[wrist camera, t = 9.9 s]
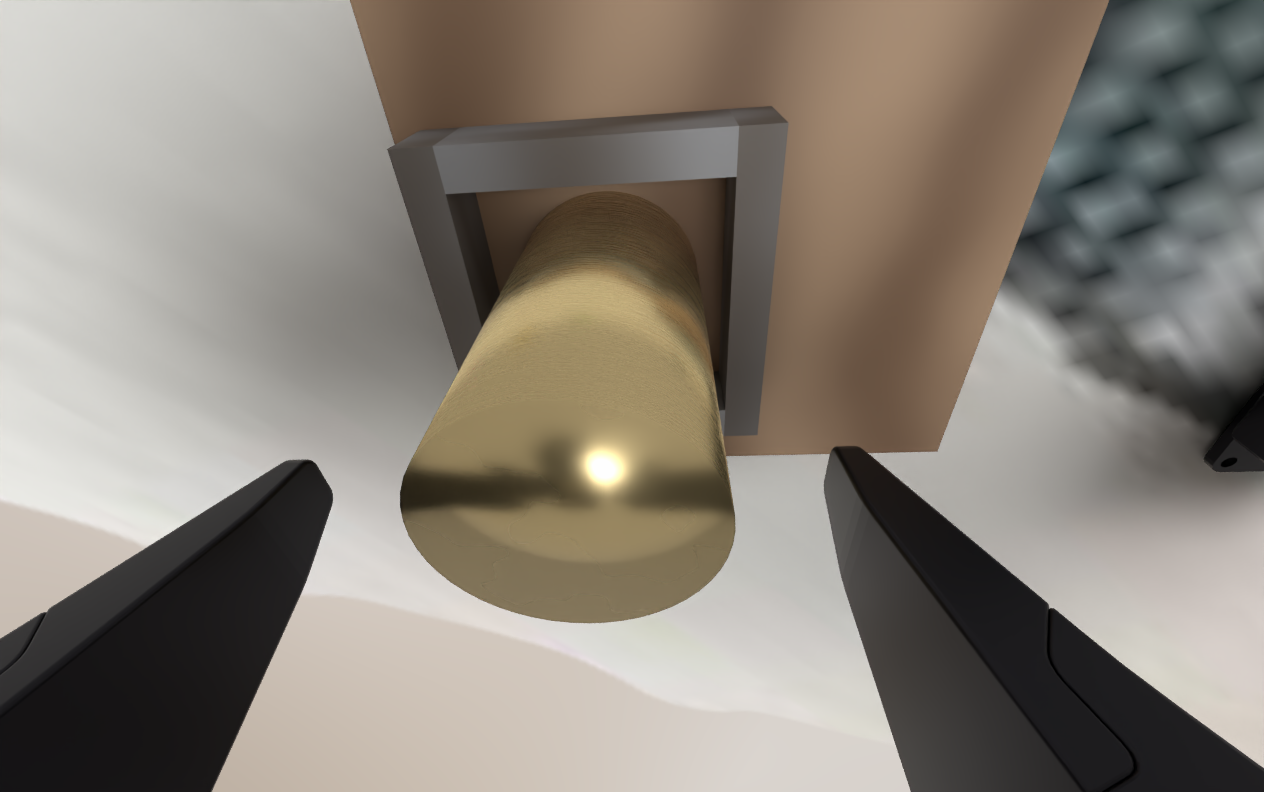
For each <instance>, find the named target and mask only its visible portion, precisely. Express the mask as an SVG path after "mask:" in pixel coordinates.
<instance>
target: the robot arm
mask: <svg viewBox="0 0 1264 792" xmlns="http://www.w3.org/2000/svg"><path fill="white" fill-rule="evenodd" d="M1204 462H1205V463H1206V464H1207V465H1209V466H1210V467H1211V468H1212V469H1213V470H1215V471H1217V472H1245V471H1264V383H1263V384H1262V386H1261V387H1260V388H1259V389H1258V390H1257V392H1256V393H1255V394H1254V395H1253V397H1252V398H1251V399H1250V400H1249V402H1248V403H1247V404H1246V405H1245V407H1244V408H1243V409H1242V410H1241V412H1240V413H1239V414H1238V415H1237V417H1236V418H1235V419H1234V420H1233V422H1232V423H1231V424H1230V425H1229V427H1228V428H1227V429H1226V430H1225V432H1224V433H1223V434H1222V435H1221V437H1220V438H1219V439H1218V440H1217V442H1216V443H1215V444H1214V445H1213V447H1212V448H1211V449H1210V450H1209V452H1208V453H1207V454H1206V455H1205V457H1204ZM824 493H825V499H826V504H827V509H828V514H829V519H830V524H831V529H832V534H833V539H834V544H835V549H836V554H837V559H838V564H839V569H840V573H841V578H842V581H843V584H844V588H845V591H846V594H847V597H848V600H849V603H850V607H851V610H852V613H853V616H854V619H855V622H856V625H857V628H858V631H859V634H860V637H861V640H862V643H863V646H864V649H865V652H866V656H867V659H868V662H869V665H870V668H871V671H872V674H873V677H874V680H875V683H876V686H877V689H878V692H879V695H880V698H881V701H882V705H883V708H884V711H885V714H886V717H887V720H888V723H889V726H890V729H891V732H892V735H893V738H894V741H895V744H896V747H897V750H898V753H899V757H900V759H901V763H902V766H903V769H904V772H905V775H906V778H907V781H908V784H909V787H910V790H911V792H1264V768H1263V767H1261V766H1260V765H1258V764H1257V763H1256V762H1254V761H1253V760H1252V759H1250V758H1249V757H1248V756H1246V755H1245V754H1243V753H1242V752H1241V751H1239V750H1238V749H1237V748H1235V747H1234V746H1232V745H1231V744H1230V743H1228V742H1227V741H1226V740H1224V739H1223V738H1221V737H1220V736H1219V735H1217V734H1216V733H1215V732H1213V731H1212V730H1211V729H1209V728H1208V727H1206V726H1205V725H1204V724H1202V723H1201V722H1200V721H1198V720H1197V719H1195V718H1194V717H1193V716H1191V715H1190V714H1189V713H1187V712H1186V711H1184V710H1183V709H1182V708H1180V707H1179V706H1178V705H1176V704H1175V703H1174V702H1172V701H1171V700H1170V699H1168V698H1167V697H1166V696H1164V695H1163V694H1162V693H1160V692H1159V691H1158V690H1156V689H1155V688H1154V687H1152V686H1151V685H1150V684H1148V683H1147V682H1146V681H1144V680H1143V679H1142V678H1140V677H1139V676H1138V675H1136V674H1135V673H1134V672H1132V671H1131V670H1130V669H1128V668H1127V667H1126V666H1124V665H1123V664H1122V663H1121V662H1119V661H1118V660H1117V659H1116V658H1114V657H1113V656H1112V655H1111V654H1109V653H1108V652H1107V651H1106V650H1104V649H1103V648H1102V647H1101V646H1099V645H1098V644H1097V643H1096V642H1094V641H1093V640H1092V639H1091V638H1089V637H1088V636H1087V635H1086V634H1084V633H1083V632H1082V631H1081V630H1080V629H1078V628H1077V627H1076V626H1075V625H1074V624H1072V623H1071V622H1070V621H1069V620H1068V619H1066V618H1065V617H1064V616H1063V615H1062V614H1060V613H1059V612H1058V611H1057V610H1055V609H1054V608H1050V609H1049V605H1048V603H1047V602H1046V601H1044V600H1043V599H1042V598H1041V597H1040V596H1038V595H1037V594H1036V593H1035V592H1034V591H1032V590H1031V589H1030V588H1029V587H1028V586H1026V585H1025V584H1024V583H1023V582H1022V581H1020V580H1019V579H1018V578H1017V577H1016V576H1014V575H1013V574H1012V573H1011V572H1010V571H1008V570H1007V569H1006V568H1005V567H1004V566H1002V565H1001V564H1000V563H999V562H998V561H996V560H995V559H994V558H993V557H992V556H990V555H989V554H988V553H987V552H986V551H984V550H983V549H982V548H981V547H980V546H978V545H977V544H976V543H975V542H974V541H972V540H971V539H970V538H969V537H968V536H966V535H965V534H964V533H963V532H962V531H960V530H959V529H958V528H957V527H956V526H954V525H953V524H952V523H951V522H950V521H948V520H947V519H946V518H945V517H944V516H942V515H941V514H940V513H939V512H938V511H936V510H935V509H934V508H933V507H932V506H930V505H929V504H928V503H927V502H926V501H924V500H923V499H922V498H921V497H920V496H918V495H917V494H916V493H915V492H914V491H912V490H911V489H910V488H909V487H908V486H906V485H905V484H904V483H903V482H902V481H900V480H899V479H898V478H897V477H896V476H894V475H893V474H892V473H891V472H890V471H889V470H887V469H886V468H885V467H884V466H883V465H881V464H880V463H879V462H878V461H877V460H875V459H874V458H873V457H872V456H871V455H869V454H868V453H867V452H866V451H865V450H863V449H862V448H860V447H858V446H836V447H834V448H833V449H832V450H831V452H830V456H829V461H828V466H827V470H826V475H825V480H824ZM332 503H333V493H332V490H331V488H330V486H329V485H328V483H327V481H326V480H325V478H324V476H323V475H322V473H321V471H320V470H319V468H318V466H317V465H316V464H315V463H314V462H313V461H311V460H288V461H285V462H283V463H281V464H280V465H278V466H276V467H275V468H273V469H272V470H270V471H268V472H267V473H265V474H264V475H262V476H260V477H259V478H257V479H256V480H254V481H252V482H251V483H249V484H248V485H246V486H244V487H243V488H241V489H240V490H238V491H236V492H235V493H233V494H232V495H230V496H228V497H227V498H225V499H224V500H222V501H220V502H219V503H217V504H216V505H214V506H212V507H211V508H209V509H208V510H206V511H204V512H203V513H201V514H200V515H198V516H196V517H195V518H193V519H192V520H190V521H188V522H187V523H185V524H184V525H182V526H180V527H179V528H177V529H176V530H174V531H172V532H171V533H169V534H168V535H166V536H164V537H163V538H161V539H160V540H158V541H156V542H155V543H153V544H152V545H150V546H148V547H147V548H145V549H144V550H142V551H141V552H139V553H138V554H136V555H134V556H132V557H131V558H129V559H128V560H126V561H124V562H123V563H121V564H120V565H118V566H116V567H115V568H113V569H112V570H110V571H108V572H107V573H105V574H104V575H102V576H100V577H99V578H97V579H96V580H94V581H92V582H91V583H89V584H87V585H86V586H84V587H83V588H81V589H79V590H78V591H77V592H75V593H73V594H71V595H70V596H68V597H67V598H65V599H64V600H62V601H60V602H59V603H57V604H56V605H54V606H52V607H51V608H50V609H49V610H48V611H47V612H44V613H41V614H39V615H38V616H36V617H34V618H33V619H31V620H30V621H28V622H26V623H25V624H23V625H22V626H20V627H18V628H17V629H15V630H14V631H12V632H10V633H9V634H7V635H6V636H4V637H2V638H1V639H0V792H212V790H213V788H214V785H215V783H216V781H217V779H218V777H219V774H220V772H221V770H222V768H223V765H224V763H225V761H226V759H227V757H228V755H229V752H230V750H231V748H232V746H233V743H234V741H235V739H236V737H237V735H238V732H239V730H240V728H241V726H242V724H243V721H244V719H245V717H246V715H247V712H248V710H249V708H250V706H251V703H252V701H253V699H254V697H255V695H256V693H257V690H258V688H259V686H260V684H261V681H262V679H263V677H264V675H265V672H266V670H267V668H268V666H269V664H270V661H271V659H272V657H273V655H274V653H275V650H276V648H277V646H278V644H279V642H280V639H281V637H282V635H283V633H284V630H285V628H286V626H287V624H288V622H289V619H290V617H291V615H292V613H293V611H294V608H295V606H296V604H297V602H298V600H299V597H300V595H301V593H302V590H303V588H304V586H305V583H306V581H307V578H308V575H309V572H310V570H311V567H312V564H313V561H314V558H315V555H316V552H317V549H318V546H319V543H320V540H321V537H322V534H323V531H324V528H325V525H326V522H327V519H328V516H329V513H330V510H331V507H332Z"/></svg>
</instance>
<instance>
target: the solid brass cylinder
mask: <svg viewBox="0 0 1264 792" xmlns="http://www.w3.org/2000/svg"><path fill="white" fill-rule="evenodd" d="M400 508H401V513H402V518H403V522H404V525H405V527H406V530H407V532H408V535H409V537H410V538H411V540H412V542H413V543H414V545H415V547H416V548H417V550H418V551H419V552H420V553H421V555H422V556H423V557H424V558H425V560H426V561H427V562H428V563H429V564H430V565H431V566H432V567H433V568H434V569H435V570H436V571H437V572H439V573H440V574H441V575H442V576H444V577H445V578H446V579H447V580H449V581H450V582H451V583H453V584H454V585H456V586H457V587H459V588H461V589H462V590H464V591H465V592H467V593H469V594H471V595H473V596H475V597H477V598H479V599H481V600H483V601H485V602H487V603H490V604H492V605H494V606H497V607H499V608H502V609H505V610H508V611H511V612H515V613H518V614H522V615H526V616H530V617H534V618H540V619H545V620H551V621H560V622H570V623H605V622H614V621H623V620H628V619H634V618H639V617H643V616H646V615H650V614H653V613H657V612H659V611H662V610H665V609H667V608H670V607H672V606H674V605H676V604H678V603H680V602H682V601H684V600H686V599H688V598H689V597H691V596H692V595H694V594H695V593H697V592H698V591H700V590H701V589H702V588H703V587H704V586H706V585H707V584H708V583H709V582H710V581H711V580H712V579H713V578H714V577H715V576H716V574H717V573H718V572H719V571H720V570H721V568H722V566H723V565H724V563H725V562H726V560H727V558H728V556H729V553H730V551H731V548H732V546H733V541H734V536H735V513H734V506H733V500H732V493H731V487H730V480H729V473H728V467H727V460H726V453H725V447H724V440H723V433H722V427H721V420H720V413H719V407H718V400H717V393H716V387H715V380H714V373H713V367H712V360H711V354H710V347H709V340H708V334H707V327H706V320H705V314H704V307H703V300H702V294H701V287H700V280H699V274H698V267H697V262H696V257H695V253H694V251H693V248H692V245H691V243H690V241H689V239H688V237H687V235H686V234H685V232H684V231H683V229H682V228H681V227H680V225H679V224H678V223H677V222H676V221H675V220H674V219H673V218H672V217H671V215H669V214H668V213H667V212H666V211H664V210H663V209H662V208H660V207H659V206H657V205H655V204H654V203H652V202H650V201H648V200H646V199H644V198H641V197H639V196H636V195H632V194H628V193H623V192H616V191H598V192H591V193H586V194H582V195H579V196H576V197H574V198H571V199H569V200H567V201H565V202H563V203H562V204H560V205H558V206H557V207H555V208H554V209H553V210H552V211H550V212H549V213H548V214H547V215H546V216H545V217H544V218H543V219H542V220H541V222H540V223H539V224H538V226H537V227H536V229H535V230H534V232H533V233H532V235H531V237H530V239H529V241H528V243H527V245H526V246H525V248H524V250H523V252H522V254H521V256H520V258H519V260H518V261H517V263H516V265H515V267H514V269H513V271H512V273H511V274H510V276H509V278H508V280H507V282H506V284H505V286H504V288H503V289H502V291H501V293H500V295H499V297H498V299H497V301H496V303H495V304H494V306H493V308H492V310H491V312H490V314H489V316H488V317H487V319H486V321H485V323H484V325H483V327H482V329H481V331H480V332H479V334H478V336H477V338H476V340H475V342H474V344H473V346H472V347H471V349H470V351H469V353H468V355H467V357H466V359H465V360H464V362H463V364H462V366H461V368H460V370H459V372H458V374H457V375H456V377H455V379H454V381H453V383H452V385H451V387H450V389H449V390H448V392H447V394H446V396H445V398H444V400H443V402H442V403H441V405H440V407H439V409H438V411H437V413H436V415H435V417H434V418H433V420H432V422H431V424H430V426H429V428H428V430H427V432H426V433H425V435H424V437H423V439H422V441H421V443H420V445H419V446H418V448H417V450H416V452H415V454H414V456H413V458H412V460H411V461H410V463H409V466H408V468H407V470H406V472H405V475H404V477H403V481H402V486H401V491H400Z"/></svg>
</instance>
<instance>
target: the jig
mask: <svg viewBox="0 0 1264 792" xmlns="http://www.w3.org/2000/svg"><path fill="white" fill-rule="evenodd" d="M350 2H351V5H352V9H353V12H354V15H355V18H356V21H357V25H358V28H359V31H360V34H361V37H362V41H363V44H364V47H365V50H366V53H367V57H368V60H369V63H370V66H371V69H372V73H373V76H374V79H375V82H376V86H377V89H378V92H379V95H380V98H381V102H382V105H383V108H384V111H385V114H386V118H387V121H388V124H389V127H390V130H391V134H392V137H393V140H394V143H395V145H394V146H392V147H391V148H389V149H387V150H388V153H389V156H390V159H391V162H392V165H393V168H394V171H395V174H396V178H397V181H398V184H399V187H400V190H401V193H402V196H403V199H404V202H405V206H406V209H407V212H408V215H409V218H410V221H411V224H412V227H413V230H414V234H415V237H416V240H417V243H418V246H419V249H420V252H421V255H422V258H423V262H424V265H425V268H426V271H427V274H428V277H429V280H430V283H431V286H432V290H433V293H434V296H435V299H436V302H437V305H438V308H439V311H440V314H441V318H442V321H443V324H444V327H445V330H446V333H447V336H448V339H449V343H450V346H451V349H452V352H453V355H454V358H455V361H456V364H457V367H458V371H459V370H460V368H461V366H462V364H463V362H464V360H465V359H466V357H467V355H468V353H469V351H470V349H471V347H472V346H473V344H474V342H475V340H476V338H477V336H478V334H479V332H480V331H481V329H482V327H483V325H484V323H485V321H486V319H487V317H488V316H489V314H490V312H491V310H492V308H493V306H494V304H495V303H496V301H497V299H498V297H499V295H500V293H501V291H502V289H503V288H504V286H505V284H506V282H507V280H508V278H509V276H510V274H511V273H512V271H513V269H514V267H515V265H516V263H517V261H518V260H519V258H520V256H521V254H522V252H523V250H524V248H525V246H526V245H527V243H528V241H529V239H530V237H531V235H532V233H533V232H534V230H535V229H536V227H537V226H538V224H539V223H540V222H541V220H542V219H543V218H544V217H545V216H546V215H547V214H548V213H549V212H550V211H552V210H553V209H554V208H555V207H557V206H558V205H560V204H562V203H563V202H565V201H567V200H569V199H571V198H574V197H576V196H579V195H582V194H586V193H591V192H598V191H616V192H623V193H628V194H632V195H636V196H639V197H641V198H644V199H646V200H648V201H650V202H652V203H654V204H655V205H657V206H659V207H660V208H662V209H663V210H664V211H666V212H667V213H668V214H669V215H671V217H672V218H673V219H674V220H675V221H676V222H677V223H678V224H679V225H680V227H681V228H682V229H683V231H684V232H685V234H686V235H687V237H688V239H689V241H690V243H691V245H692V248H693V251H694V253H695V257H696V262H697V267H698V274H699V280H700V287H701V294H702V300H703V307H704V314H705V320H706V327H707V334H708V340H709V347H710V354H711V360H712V367H713V373H714V380H715V387H716V393H717V400H718V407H719V413H720V420H721V427H722V433H723V440H724V447H725V453H726V456H750V455H795V454H830V452H831V450H832V449H833V448H834V447H836V446H858V447H860V448H862V449H863V450H865V451H866V452H867V453H887V452H933V451H938V448H939V445H940V443H941V440H942V438H943V435H944V432H945V430H946V427H947V424H948V422H949V419H950V417H951V414H952V411H953V409H954V406H955V403H956V401H957V398H958V396H959V393H960V390H961V388H962V385H963V382H964V380H965V377H966V375H967V372H968V369H969V367H970V364H971V361H972V359H973V356H974V354H975V351H976V348H977V346H978V343H979V340H980V338H981V335H982V333H983V330H984V327H985V325H986V322H987V320H988V317H989V314H990V312H991V309H992V306H993V304H994V301H995V299H996V296H997V293H998V291H999V288H1000V285H1001V283H1002V280H1003V278H1004V275H1005V272H1006V270H1007V267H1008V264H1009V262H1010V259H1011V257H1012V254H1013V251H1014V249H1015V246H1016V243H1017V241H1018V238H1019V236H1020V233H1021V230H1022V228H1023V225H1024V222H1025V220H1026V217H1027V215H1028V212H1029V209H1030V207H1031V204H1032V201H1033V199H1034V196H1035V194H1036V191H1037V188H1038V186H1039V183H1040V180H1041V178H1042V175H1043V173H1044V170H1045V167H1046V165H1047V162H1048V159H1049V157H1050V154H1051V152H1052V149H1053V146H1054V144H1055V141H1056V138H1057V136H1058V133H1059V131H1060V128H1061V125H1062V123H1063V120H1064V117H1065V115H1066V112H1067V110H1068V107H1069V104H1070V102H1071V99H1072V96H1073V94H1074V91H1075V89H1076V86H1077V83H1078V81H1079V78H1080V75H1081V73H1082V70H1083V68H1084V65H1085V62H1086V60H1087V57H1088V54H1089V52H1090V49H1091V47H1092V44H1093V41H1094V39H1095V36H1096V33H1097V31H1098V28H1099V26H1100V23H1101V20H1102V18H1103V15H1104V12H1105V10H1106V7H1107V5H1108V2H1109V0H350Z"/></svg>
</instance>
